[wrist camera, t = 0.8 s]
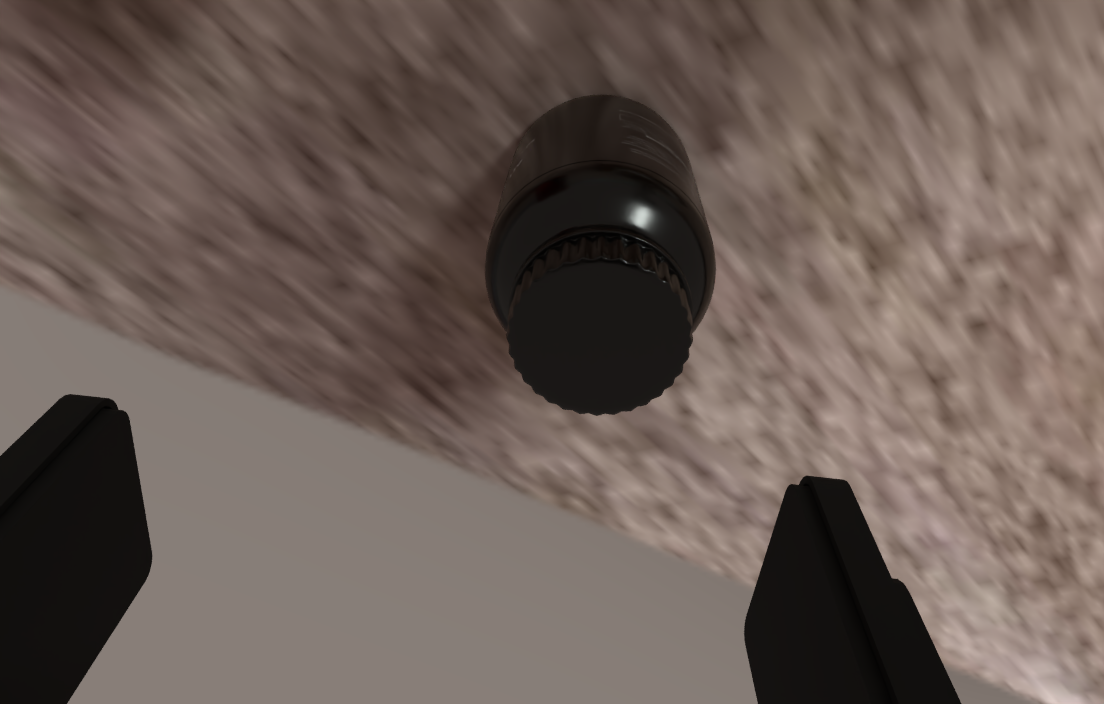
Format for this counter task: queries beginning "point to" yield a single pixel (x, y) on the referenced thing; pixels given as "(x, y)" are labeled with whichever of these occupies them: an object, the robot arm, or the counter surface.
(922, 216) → the counter surface
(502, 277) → the supplement bottle
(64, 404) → the robot arm
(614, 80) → the counter surface
